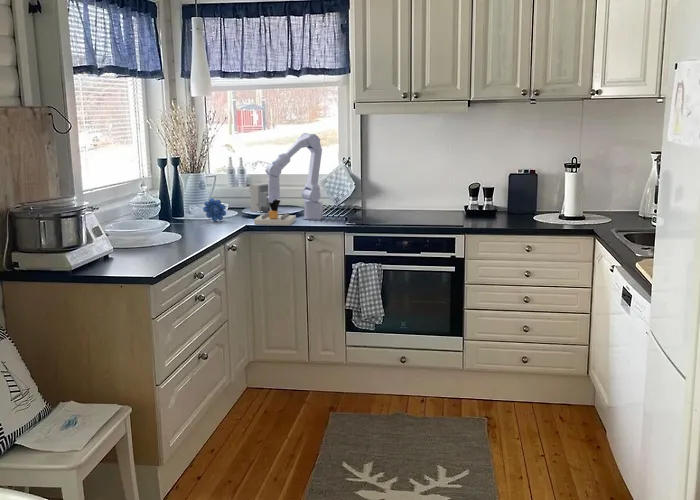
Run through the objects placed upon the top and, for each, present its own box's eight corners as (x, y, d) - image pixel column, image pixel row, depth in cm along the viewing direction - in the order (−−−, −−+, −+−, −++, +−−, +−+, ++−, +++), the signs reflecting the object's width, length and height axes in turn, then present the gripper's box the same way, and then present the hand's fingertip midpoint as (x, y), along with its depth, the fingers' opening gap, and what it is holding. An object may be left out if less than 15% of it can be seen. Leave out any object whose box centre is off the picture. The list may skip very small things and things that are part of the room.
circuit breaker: (268, 214, 388) (268, 186, 385) (250, 211, 397) (249, 184, 393) (278, 212, 394) (277, 185, 391) (259, 209, 402) (258, 182, 399)
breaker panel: (295, 220, 372) (295, 212, 371) (289, 225, 358) (289, 217, 357) (262, 219, 374) (262, 211, 373) (254, 224, 361) (254, 216, 360)
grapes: (205, 223, 363) (203, 200, 361) (203, 220, 370) (202, 198, 367) (227, 221, 367) (226, 198, 364) (225, 219, 373) (224, 196, 370)
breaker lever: (278, 217, 363) (277, 210, 363) (276, 218, 361) (276, 211, 360) (270, 217, 364) (270, 210, 363) (268, 218, 361) (268, 211, 360)
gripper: (270, 185, 369) (270, 211, 372) (262, 190, 355) (262, 216, 358) (283, 186, 367) (284, 212, 371) (275, 190, 353) (276, 217, 357)
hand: (274, 214), depth 364 cm, fingers closed
